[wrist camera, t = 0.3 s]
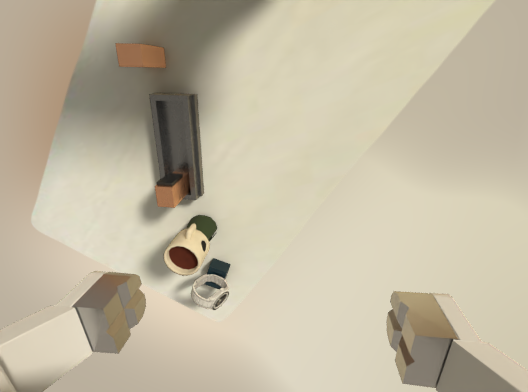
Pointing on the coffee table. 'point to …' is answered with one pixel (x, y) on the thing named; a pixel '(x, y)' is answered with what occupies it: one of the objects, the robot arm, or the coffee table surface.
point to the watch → (213, 285)
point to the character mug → (190, 246)
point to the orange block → (140, 55)
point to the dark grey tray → (177, 147)
